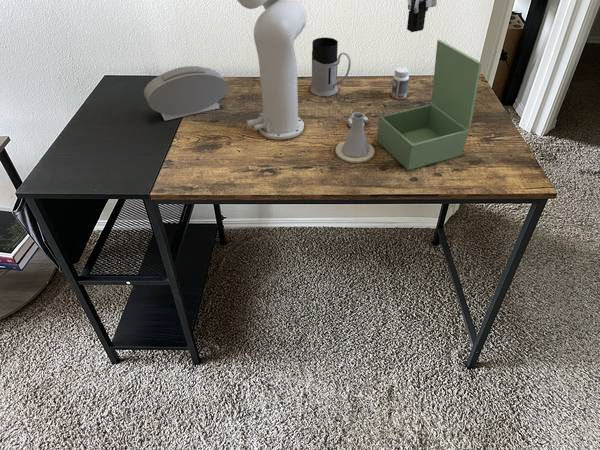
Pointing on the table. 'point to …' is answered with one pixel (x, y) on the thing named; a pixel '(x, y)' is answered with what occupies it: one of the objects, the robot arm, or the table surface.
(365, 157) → the coaster
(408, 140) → the box
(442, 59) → the box lid
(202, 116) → the table surface
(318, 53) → the glass holder
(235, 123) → the table surface
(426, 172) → the table surface
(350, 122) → the game controller
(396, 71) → the pill bottle
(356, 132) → the flask
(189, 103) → the alarm clock
